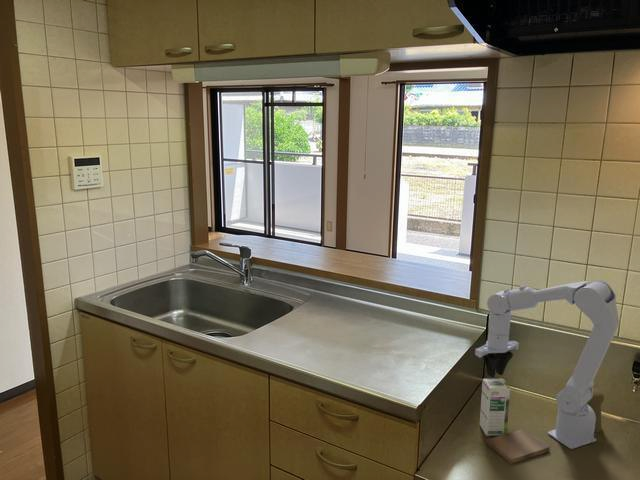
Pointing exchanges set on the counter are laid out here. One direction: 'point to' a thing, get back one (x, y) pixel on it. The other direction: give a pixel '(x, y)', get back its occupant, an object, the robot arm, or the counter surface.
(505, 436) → the walnut board
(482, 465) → the counter surface
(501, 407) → the syrup box
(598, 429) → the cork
